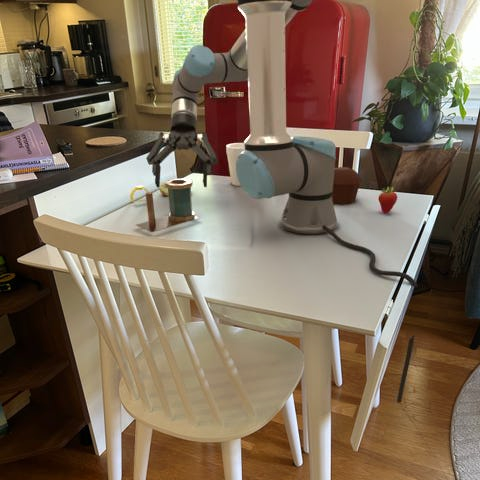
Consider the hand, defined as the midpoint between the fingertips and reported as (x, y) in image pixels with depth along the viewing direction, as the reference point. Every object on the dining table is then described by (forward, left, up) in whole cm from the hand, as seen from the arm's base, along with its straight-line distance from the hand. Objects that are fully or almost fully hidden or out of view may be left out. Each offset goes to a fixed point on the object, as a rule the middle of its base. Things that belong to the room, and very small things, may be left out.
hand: (181, 185), depth 136 cm
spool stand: (-2, +8, -10) cm, 13 cm away
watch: (+20, 0, -10) cm, 22 cm away
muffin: (-27, -43, -10) cm, 52 cm away
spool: (-2, +3, -8) cm, 9 cm away
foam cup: (+12, -39, -10) cm, 42 cm away
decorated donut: (+20, -15, -10) cm, 27 cm away
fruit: (-44, -40, -10) cm, 61 cm away
